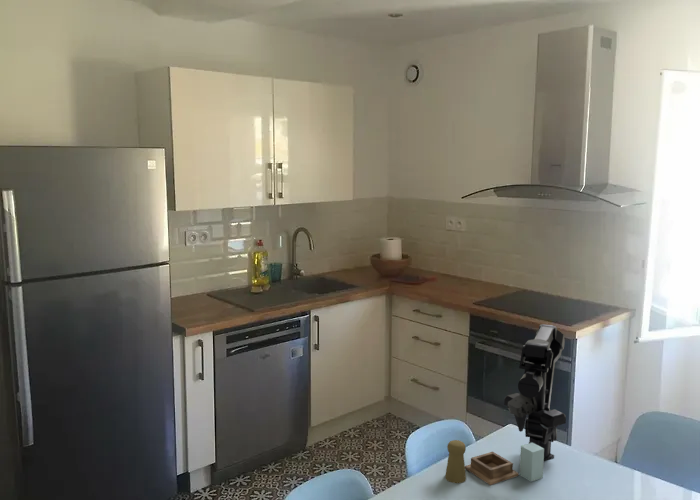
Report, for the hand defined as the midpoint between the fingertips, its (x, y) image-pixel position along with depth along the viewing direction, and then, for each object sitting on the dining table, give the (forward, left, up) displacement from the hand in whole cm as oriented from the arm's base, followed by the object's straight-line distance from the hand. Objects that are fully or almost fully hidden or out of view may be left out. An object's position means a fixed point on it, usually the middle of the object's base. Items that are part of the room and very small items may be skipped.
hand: (532, 437), depth 176 cm
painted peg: (0, 0, -12) cm, 12 cm away
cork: (+20, -10, -12) cm, 25 cm away
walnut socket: (+9, -7, -12) cm, 16 cm away
